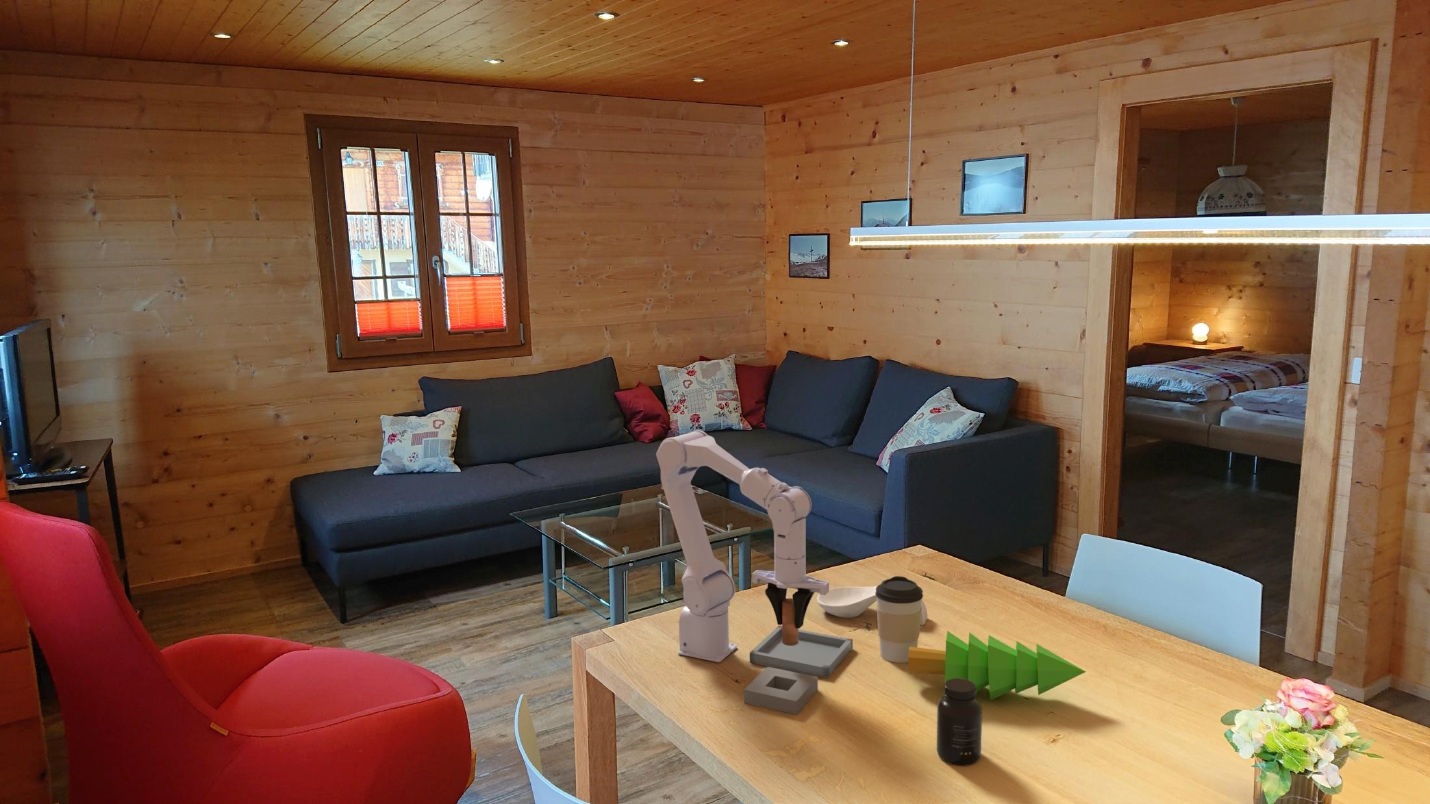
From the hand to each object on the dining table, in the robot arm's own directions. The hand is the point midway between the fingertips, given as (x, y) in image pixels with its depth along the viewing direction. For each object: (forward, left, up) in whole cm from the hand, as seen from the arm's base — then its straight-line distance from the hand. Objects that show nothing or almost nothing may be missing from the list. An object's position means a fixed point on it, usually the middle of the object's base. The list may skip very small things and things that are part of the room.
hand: (790, 624), depth 176 cm
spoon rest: (+4, +34, -11) cm, 36 cm away
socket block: (+1, -8, -10) cm, 13 cm away
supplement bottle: (+34, -14, -11) cm, 38 cm away
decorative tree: (+35, +8, -11) cm, 38 cm away
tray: (-2, +9, -10) cm, 14 cm away
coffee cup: (+15, +17, -11) cm, 26 cm away
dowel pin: (0, 0, -3) cm, 3 cm away
